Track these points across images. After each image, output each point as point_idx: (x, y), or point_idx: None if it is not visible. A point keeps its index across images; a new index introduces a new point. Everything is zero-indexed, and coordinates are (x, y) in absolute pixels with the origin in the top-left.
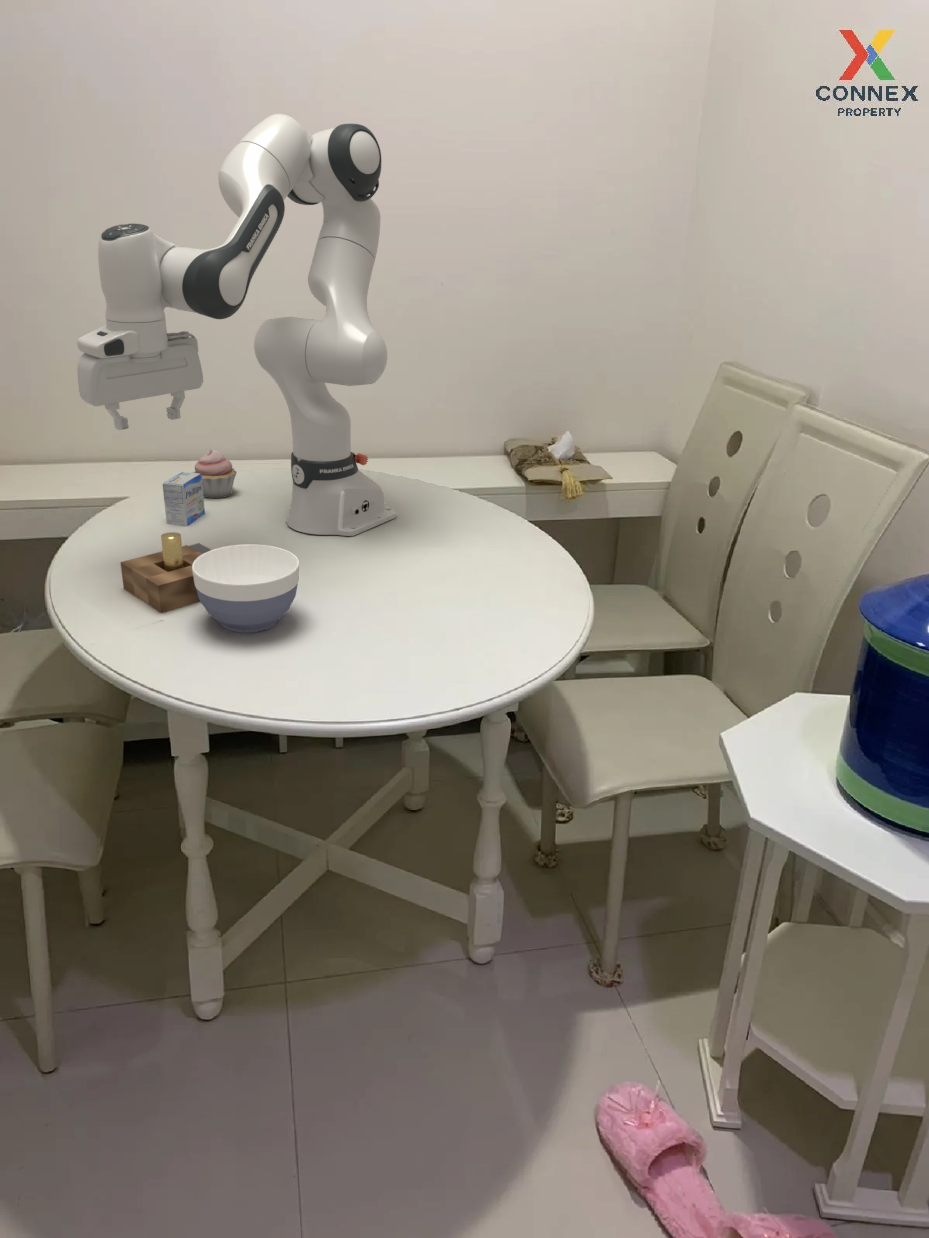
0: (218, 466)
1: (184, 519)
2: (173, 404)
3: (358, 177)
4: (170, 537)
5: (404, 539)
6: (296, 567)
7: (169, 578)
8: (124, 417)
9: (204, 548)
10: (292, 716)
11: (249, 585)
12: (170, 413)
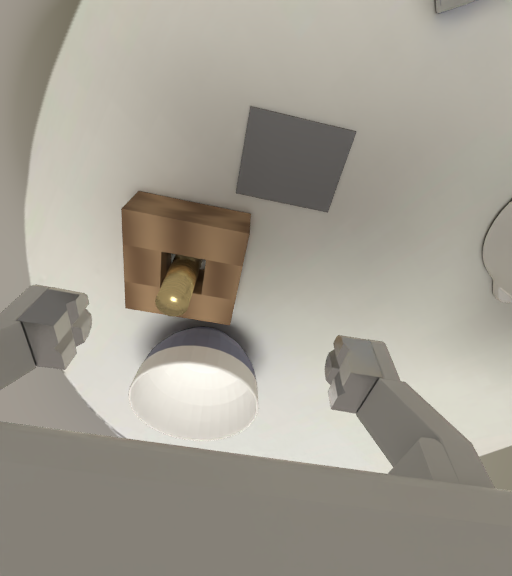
0: None
1: (444, 5)
2: (383, 406)
3: None
4: (166, 309)
5: (507, 344)
6: (226, 437)
7: (149, 303)
8: (56, 352)
9: (338, 162)
10: (129, 437)
11: (159, 430)
12: (337, 374)
